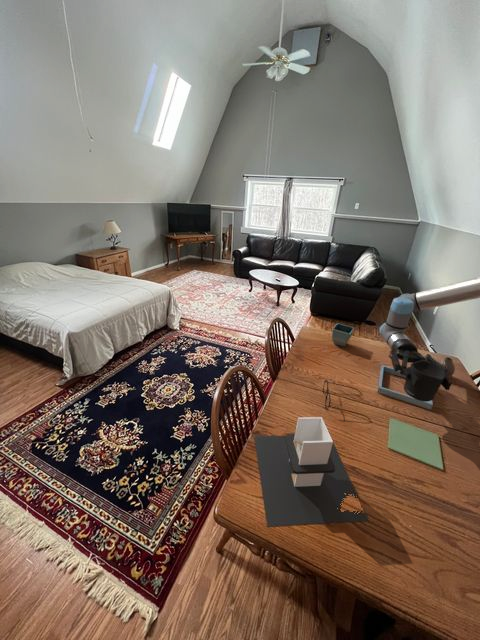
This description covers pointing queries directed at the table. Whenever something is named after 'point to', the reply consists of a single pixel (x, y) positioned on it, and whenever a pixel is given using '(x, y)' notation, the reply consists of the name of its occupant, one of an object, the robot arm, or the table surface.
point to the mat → (415, 443)
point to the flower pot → (341, 334)
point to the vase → (448, 366)
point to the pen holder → (425, 380)
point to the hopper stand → (304, 477)
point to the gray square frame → (396, 394)
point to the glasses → (330, 398)
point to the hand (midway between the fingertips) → (432, 384)
